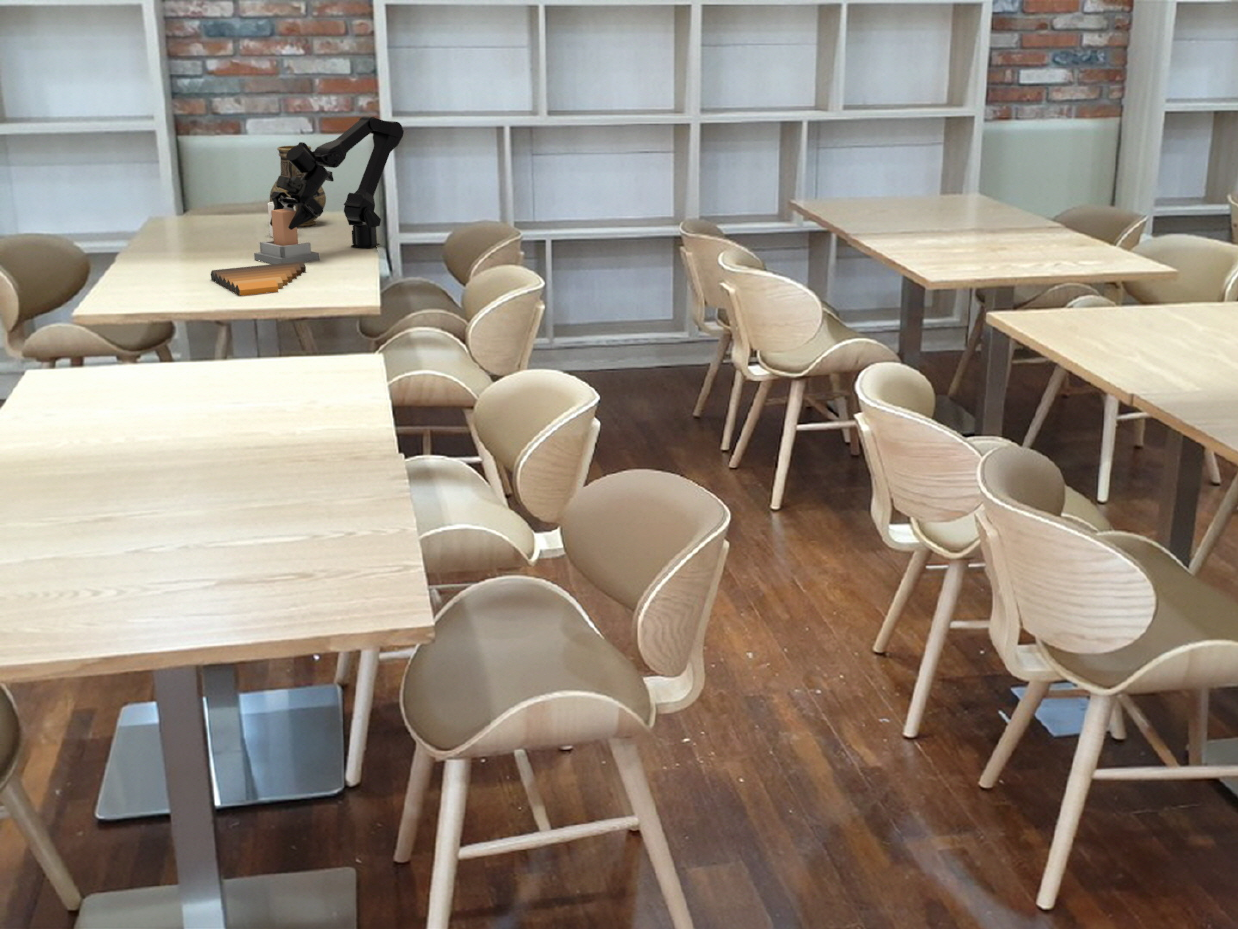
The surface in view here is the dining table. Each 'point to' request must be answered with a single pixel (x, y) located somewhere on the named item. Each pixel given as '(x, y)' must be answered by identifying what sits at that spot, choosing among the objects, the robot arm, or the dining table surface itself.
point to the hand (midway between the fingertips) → (280, 226)
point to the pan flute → (258, 277)
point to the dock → (285, 253)
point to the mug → (271, 207)
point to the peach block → (283, 227)
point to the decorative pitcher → (291, 171)
